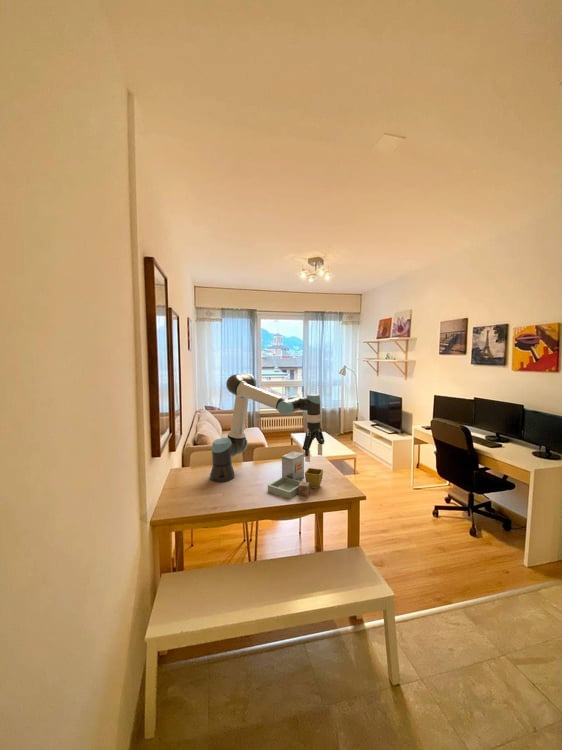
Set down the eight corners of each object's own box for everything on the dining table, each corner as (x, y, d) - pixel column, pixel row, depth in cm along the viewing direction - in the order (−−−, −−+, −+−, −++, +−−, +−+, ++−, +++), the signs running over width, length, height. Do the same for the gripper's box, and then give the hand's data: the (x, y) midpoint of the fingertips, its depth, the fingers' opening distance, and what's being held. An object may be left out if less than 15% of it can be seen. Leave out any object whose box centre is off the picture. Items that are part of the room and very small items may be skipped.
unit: (281, 480, 184) (281, 456, 183) (293, 473, 194) (293, 451, 193) (293, 484, 179) (293, 459, 178) (305, 477, 189) (304, 453, 188)
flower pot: (304, 488, 173) (304, 472, 172) (308, 482, 181) (308, 467, 180) (319, 490, 170) (319, 475, 169) (323, 484, 178) (323, 469, 177)
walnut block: (298, 496, 164) (298, 485, 163) (300, 492, 168) (300, 481, 168) (307, 497, 162) (307, 486, 162) (309, 493, 167) (309, 482, 166)
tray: (267, 491, 170) (267, 485, 169) (283, 482, 181) (283, 476, 181) (289, 498, 161) (289, 492, 160) (305, 488, 172) (305, 482, 172)
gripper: (307, 426, 161) (308, 465, 162) (330, 418, 181) (330, 453, 182) (295, 424, 165) (296, 463, 167) (319, 417, 185) (319, 451, 186)
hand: (314, 458), depth 174 cm, fingers open, 13 cm apart
